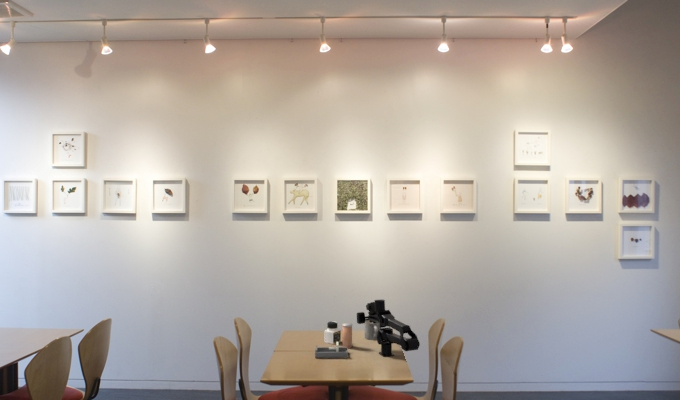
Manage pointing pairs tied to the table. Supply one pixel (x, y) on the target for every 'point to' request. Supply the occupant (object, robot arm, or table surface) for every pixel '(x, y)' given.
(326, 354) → the tray
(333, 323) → the medicine bottle
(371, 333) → the coffee mug
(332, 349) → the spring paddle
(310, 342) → the table surface
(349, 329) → the dome-lidded peach canister
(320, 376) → the table surface
